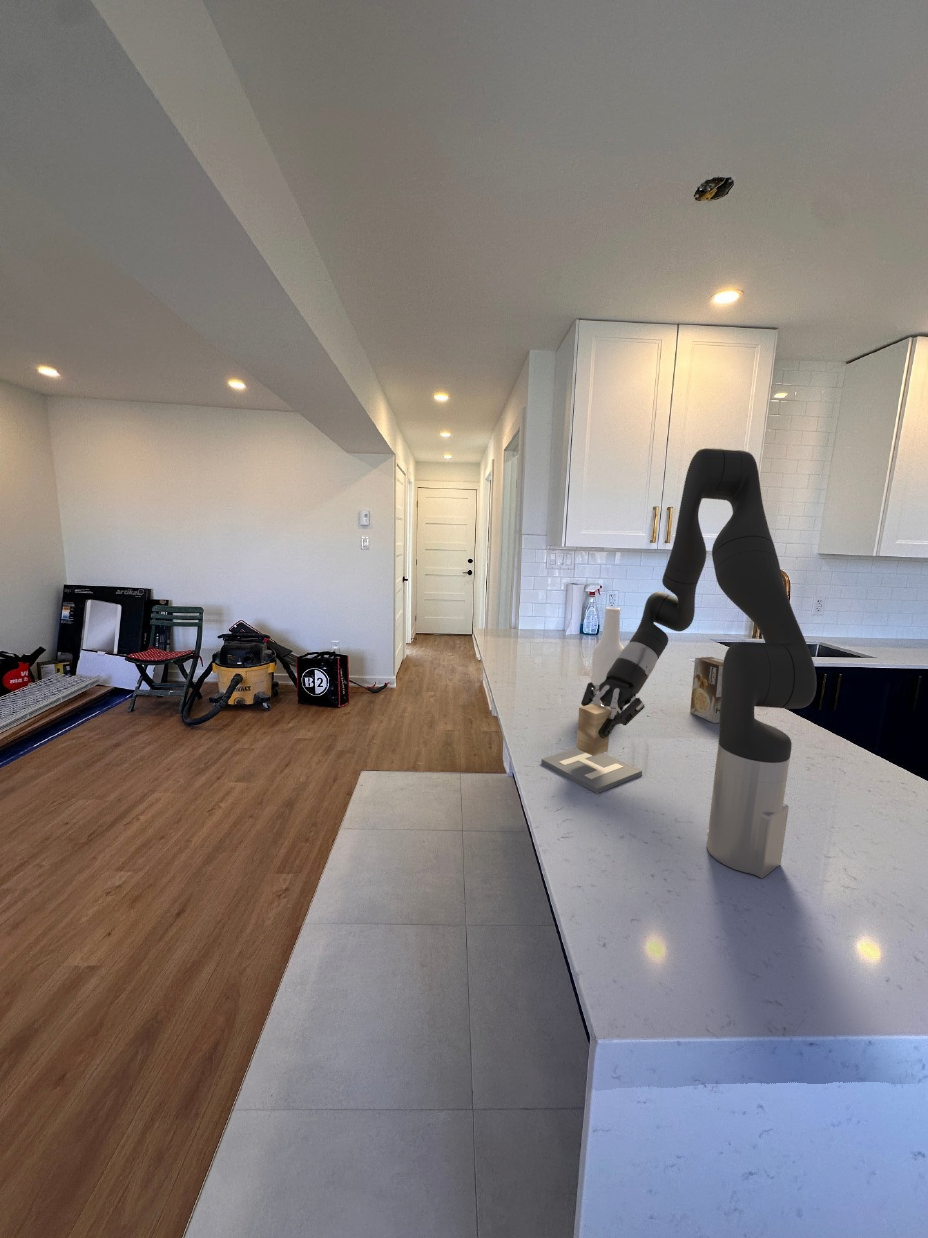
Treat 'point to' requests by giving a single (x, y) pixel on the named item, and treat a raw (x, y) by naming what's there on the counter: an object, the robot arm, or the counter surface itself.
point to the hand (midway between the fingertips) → (591, 731)
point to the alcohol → (607, 647)
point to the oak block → (592, 729)
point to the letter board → (591, 769)
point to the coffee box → (707, 688)
